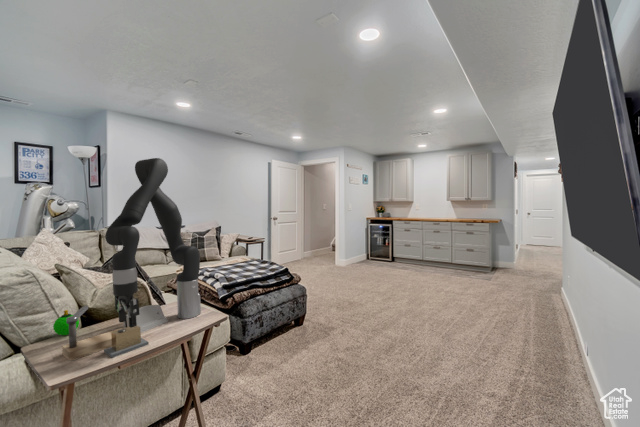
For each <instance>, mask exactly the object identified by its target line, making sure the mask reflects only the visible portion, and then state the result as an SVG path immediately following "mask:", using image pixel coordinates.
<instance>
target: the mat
mask: <svg viewBox="0 0 640 427" xmlns="http://www.w3.org/2000/svg"><path fill="white" fill-rule="evenodd" d="M148 345H149V341H147V340H146V339H145V338H142V337H141V343H139V344H136V345H133V346H131V347H128V348H125V349H122V350H119V351H117V352H116V351H115V350H113V349H112V347H110V348H107V349H104V350H103V353H104V354H106V356H109V357H110V358H112V359H113V358H115V357H119V356H121V355H124V354H127V353H128V352H133V351H135V350H137V349H140V348H142V347H145V346H148Z"/></svg>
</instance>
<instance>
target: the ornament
mask: <svg viewBox="0 0 640 427" xmlns="http://www.w3.org/2000/svg"><path fill="white" fill-rule="evenodd" d="M73 315H74V314H71V313H69V310H68V309H66V310H63V314H62V315H61V316H60V317H58V318H57V319H56V320H55V321H54V323H53V324H52V325H53V326H52V327H53V331H54V333H56V335H59V336H69V324H67V320H66V318H68V317H71V316H73ZM79 326H80V320H79V319H78V321H77V322H76V330H77V329H78V328H79Z"/></svg>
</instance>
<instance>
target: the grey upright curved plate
mask: <svg viewBox="0 0 640 427" xmlns="http://www.w3.org/2000/svg"><path fill="white" fill-rule="evenodd" d="M133 313H134V312H133ZM136 322H137V326H139V327H140V331H141V334H142V333H144V332H147V331H149V330H151V329H153V328H156V327H158V326H161V325H163V324H165V323H168V318H167V317H166V316H165V314H164V312H163V309H162V307H161V305H160V304H149V305H143V306H141V307H140V306H139V315H137V316H136ZM126 327H129V317H128V314H126V321H124V322H123V328H126Z"/></svg>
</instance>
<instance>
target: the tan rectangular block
mask: <svg viewBox="0 0 640 427" xmlns="http://www.w3.org/2000/svg"><path fill="white" fill-rule="evenodd" d="M122 328H123V329H120V328H119V329H120V330H117V329H115V330H116V331H114V330H112V331H113V332H111V335H112V349H113V350H115V351H116V352H117V351H119V350H122V349H125V348H128V347H131V346H133V345H136V344H139V343H141V338H142V337H141V335H142V333H141V331H140V327H139V326H137V325H136V326H135V327H132V328H130V327H126V328H124V327H122Z"/></svg>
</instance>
